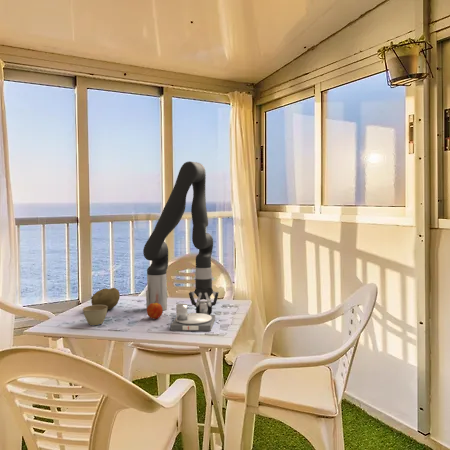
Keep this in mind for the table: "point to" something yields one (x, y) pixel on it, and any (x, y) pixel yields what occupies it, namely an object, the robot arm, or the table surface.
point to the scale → (194, 323)
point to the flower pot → (95, 314)
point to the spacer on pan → (181, 312)
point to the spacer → (203, 307)
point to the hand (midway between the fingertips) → (204, 314)
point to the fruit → (154, 310)
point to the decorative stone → (106, 297)
